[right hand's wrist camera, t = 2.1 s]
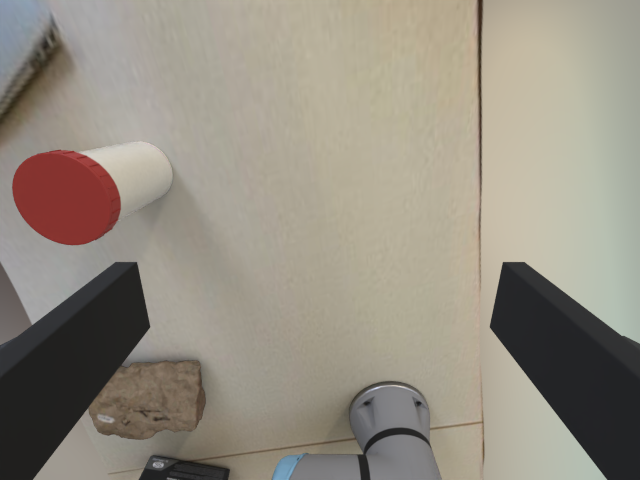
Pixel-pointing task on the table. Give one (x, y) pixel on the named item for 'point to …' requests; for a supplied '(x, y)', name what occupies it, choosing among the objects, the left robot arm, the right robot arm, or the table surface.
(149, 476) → the graphics card box
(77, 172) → the lid
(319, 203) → the table surface
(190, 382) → the stone
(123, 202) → the jar
